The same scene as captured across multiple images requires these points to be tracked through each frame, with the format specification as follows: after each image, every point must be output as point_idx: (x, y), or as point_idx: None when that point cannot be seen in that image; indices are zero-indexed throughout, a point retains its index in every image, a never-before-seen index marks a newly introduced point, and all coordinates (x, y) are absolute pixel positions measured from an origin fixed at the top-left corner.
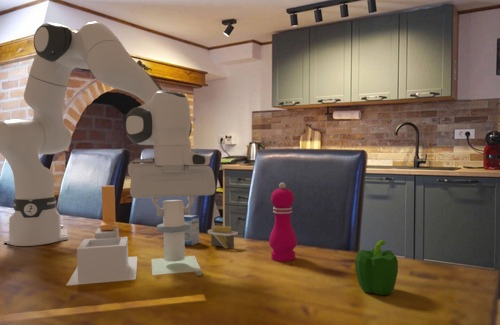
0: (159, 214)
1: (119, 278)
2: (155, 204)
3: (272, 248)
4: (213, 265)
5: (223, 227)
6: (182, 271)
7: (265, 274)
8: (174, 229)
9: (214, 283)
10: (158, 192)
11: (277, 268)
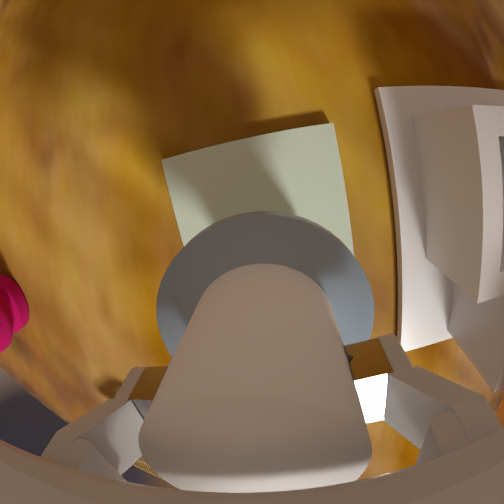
0: (380, 340)
1: (428, 107)
2: (447, 390)
3: (7, 308)
4: (144, 266)
5: (139, 460)
6: (227, 154)
7: (19, 170)
8: (243, 216)
9: (124, 81)
10: (480, 498)
11: (5, 220)
